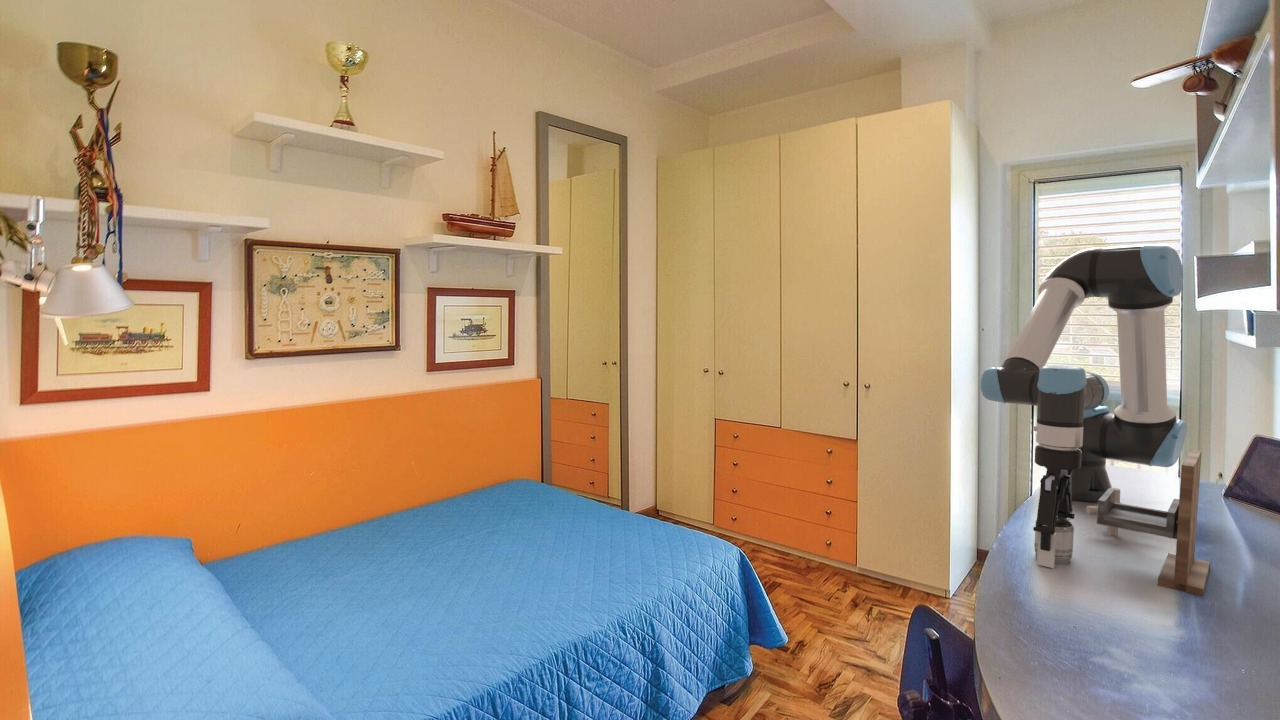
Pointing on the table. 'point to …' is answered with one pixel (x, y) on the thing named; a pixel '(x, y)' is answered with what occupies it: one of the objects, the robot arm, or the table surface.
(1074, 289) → the robot arm
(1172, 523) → the cup bracket
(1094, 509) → the pipe connector
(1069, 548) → the camera lens
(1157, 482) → the table surface
